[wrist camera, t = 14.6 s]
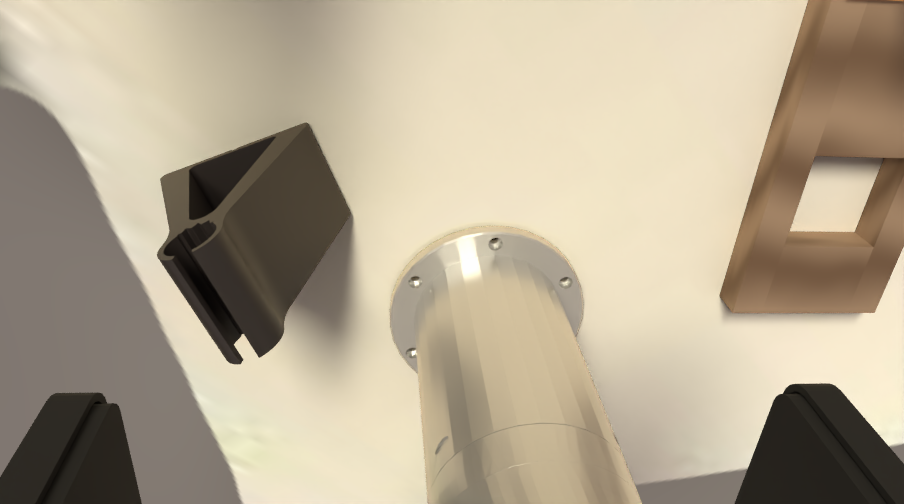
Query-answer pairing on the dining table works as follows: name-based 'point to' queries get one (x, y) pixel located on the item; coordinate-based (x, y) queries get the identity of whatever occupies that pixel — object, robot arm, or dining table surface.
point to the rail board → (828, 134)
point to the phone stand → (250, 234)
